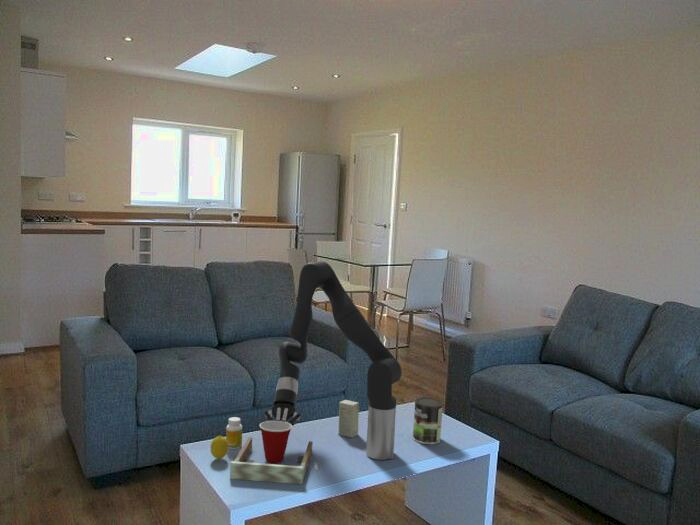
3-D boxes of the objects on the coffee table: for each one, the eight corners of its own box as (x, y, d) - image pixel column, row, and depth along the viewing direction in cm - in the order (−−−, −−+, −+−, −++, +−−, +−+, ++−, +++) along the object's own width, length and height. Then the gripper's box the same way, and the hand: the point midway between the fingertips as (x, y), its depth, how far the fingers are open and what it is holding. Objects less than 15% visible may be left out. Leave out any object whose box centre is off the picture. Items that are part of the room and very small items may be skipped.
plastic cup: (296, 455, 202) (297, 421, 200) (284, 469, 191) (285, 432, 190) (265, 450, 204) (267, 416, 203) (252, 463, 194) (253, 427, 193)
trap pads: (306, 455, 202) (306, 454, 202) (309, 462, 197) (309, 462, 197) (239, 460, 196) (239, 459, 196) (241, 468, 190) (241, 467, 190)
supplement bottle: (238, 450, 204) (239, 422, 203) (223, 448, 205) (224, 420, 204) (244, 444, 209) (245, 417, 208) (229, 442, 210) (230, 415, 209)
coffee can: (426, 446, 214) (428, 408, 213) (406, 437, 223) (409, 400, 221) (446, 441, 221) (449, 403, 219) (427, 431, 229) (429, 395, 227)
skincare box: (358, 434, 222) (360, 402, 221) (352, 438, 219) (353, 405, 218) (343, 430, 226) (345, 398, 225) (337, 434, 222) (338, 401, 221)
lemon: (212, 464, 192) (213, 440, 191) (208, 457, 197) (208, 433, 196) (229, 461, 195) (230, 437, 194) (225, 454, 200) (225, 431, 199)
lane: (312, 451, 206) (312, 437, 205) (301, 484, 182) (302, 468, 181) (248, 446, 207) (248, 432, 206) (229, 478, 183) (230, 462, 182)
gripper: (266, 386, 210) (257, 433, 200) (304, 389, 210) (296, 436, 199) (269, 396, 216) (260, 442, 205) (305, 399, 215) (298, 445, 204)
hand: (278, 439), depth 202 cm, fingers closed
